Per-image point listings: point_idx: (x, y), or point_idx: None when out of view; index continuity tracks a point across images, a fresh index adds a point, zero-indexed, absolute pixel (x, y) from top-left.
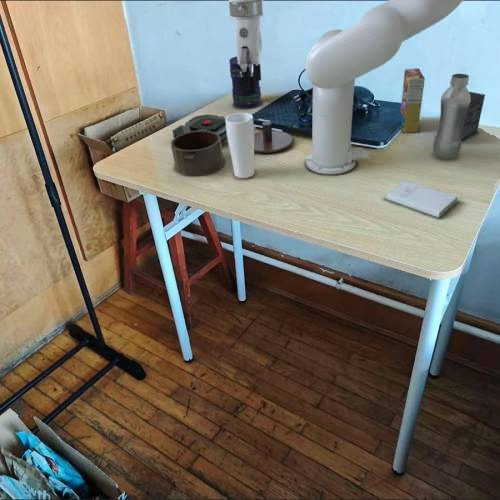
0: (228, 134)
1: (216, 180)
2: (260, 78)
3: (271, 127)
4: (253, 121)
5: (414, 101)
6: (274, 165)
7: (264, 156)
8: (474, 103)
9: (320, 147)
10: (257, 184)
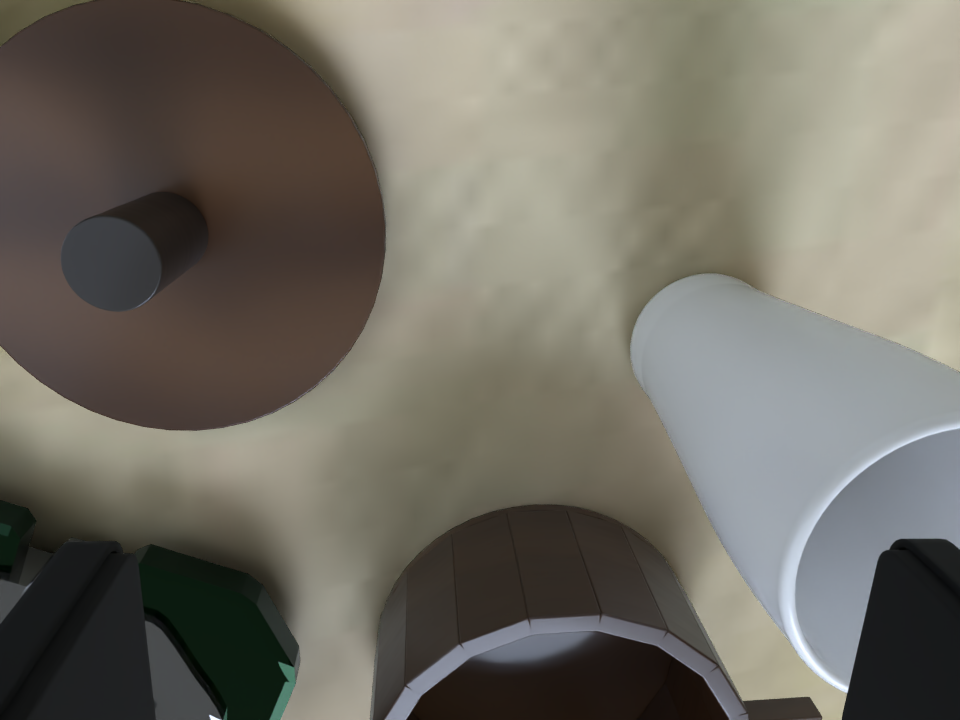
0: None
1: None
2: (100, 560)
3: (129, 209)
4: (926, 389)
5: None
6: (574, 133)
7: (413, 229)
8: None
9: None
10: (850, 230)
